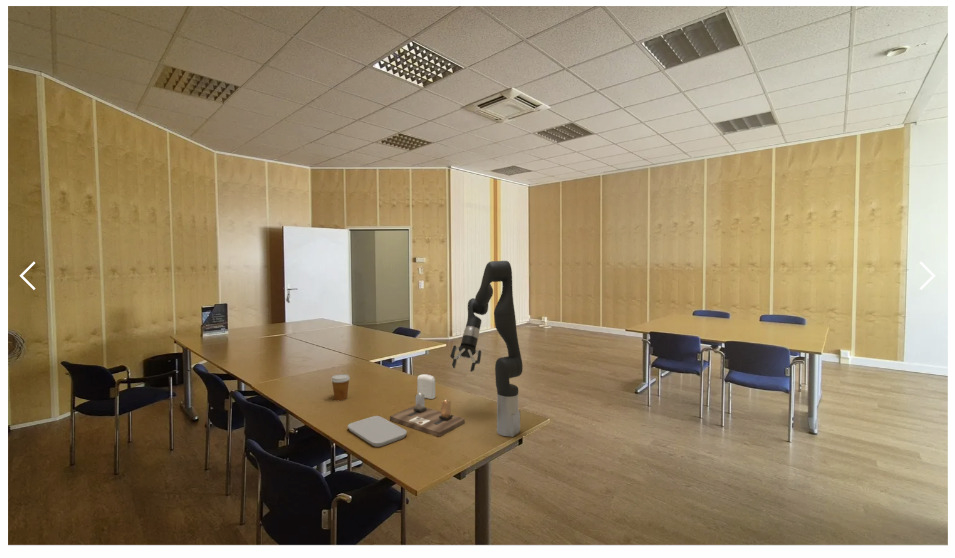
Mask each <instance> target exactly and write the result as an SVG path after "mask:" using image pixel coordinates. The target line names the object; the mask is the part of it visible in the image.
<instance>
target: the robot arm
mask: <svg viewBox="0 0 955 558" xmlns="http://www.w3.org/2000/svg"><path fill="white" fill-rule="evenodd" d="M512 269H513V268H512V265H511V263H510V261H508V260H493V261H489V262H487V263H486V265H485V268H484V271H483V275H482V278H481V283H480V287H479V289H478V291H477V293H476V295H475V298H474V297H473V298H470V299H469V300H468V302H467V320H466V324H465V328H464V331H463V334H462V337H461V343H460V346H457V345H455V344H454V345H453V346H452V349H451V354H450V358H451V359H453V361H452V364H451V366H452V368H453V369H456V367H457V361H458V360H459V359H460V358H461V357H462V358H466V359H471V366H470V373H472V372H474V371H475V369H476V365H480V363H481V359H482V350H476V348H477V345H478V341H479V337H480V331H481V326H482V319H481V317H478V316H477V315H480V316H485V315H487V313H488V311H489V303H490V301H491V299H492V297H493V295H494V289H493V286H492V284H491V283H497V282H498V283H499V282H500V283H501V282H502V284H501V285H502V290H501V294H500V297H499V299H498V301H497V303H496V305H495V307H494V310H493V318H494V326H495V329H496V331H497V333H498V334H499V335H500V337H501V338H502V340H503V342H504V343H505V345H506V349H507V354H508V355H507V356H501V357H499V358H497V359H496V361H495V364H494V365H495V366H494V369H495V370H494V373H495V387H496V433H497V434H498V435H499V436H502V437H512V438H513V437H515V436H517V435H518V434H519V433H520V432H521V430H520V429H521V410H519V387H518V386H517V385H515V384H513V383H510V379H512V378H517V377H520V376H521V375H522V374H523V368H524V367H523V360H522V355H521V350H520V345H519V338H518V332H517V319H516V318H517V317H516V312H515V305H514V293H513V271H512ZM457 351H459V352H458V353H457V354H456V352H457ZM455 354H456V355H455ZM475 354H476V356H477V358H476V360H475V357H474V355H475Z"/></svg>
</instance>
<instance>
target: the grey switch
mask: <svg viewBox="0 0 955 558" xmlns="http://www.w3.org/2000/svg"><path fill="white" fill-rule="evenodd" d="M425 399H426V398H425V395H424V394H423V393H422V392H419V393H418V392H417V394H416V395H415V405H416V408H414V411H417V412H423V411H425V410H427V408H428V407H427V406H426V405H425ZM426 407H427V408H426Z"/></svg>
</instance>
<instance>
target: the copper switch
mask: <svg viewBox="0 0 955 558" xmlns="http://www.w3.org/2000/svg"><path fill="white" fill-rule="evenodd" d="M440 412H441V415H440V416H439V418H440V419H443V420H449V419H450V418H452V417H453V414H451V400H450V401H449V399H448V398H445V399H443V401H441V408H440Z"/></svg>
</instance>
